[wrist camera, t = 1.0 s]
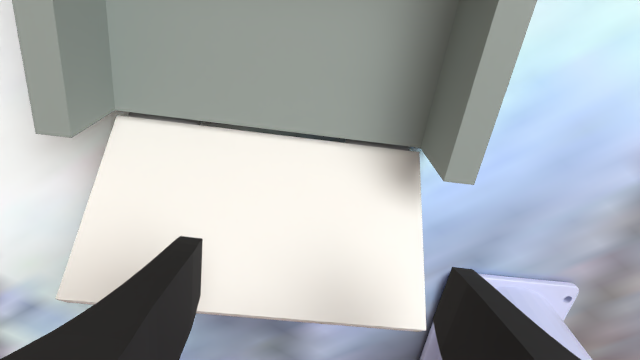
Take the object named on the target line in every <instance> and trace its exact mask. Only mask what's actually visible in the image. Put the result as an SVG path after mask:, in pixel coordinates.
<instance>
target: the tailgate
mask: <svg viewBox="0 0 640 360" xmlns="http://www.w3.org/2000/svg"><path fill="white" fill-rule="evenodd" d="M180 236H185V237H193V238H202V239H203V243H202V271H201V296H200V300H199V303H198V307H197V311H196V313H200V314H212V315H224V316H236V317H248V318H260V319H272V320H284V321H296V322H308V323H319V324H331V325H343V326H355V327H367V328H379V329H391V330H403V331H415V332H419V331H425V330H426V310H425V284H424V259H423V234H422V208H421V183H420V157H419V152H414V151H409V147H408V146H401V145H393V144H384V143H376V142H368V141H360V140H352V139H346V140H345V143H341V142H332V141H324V140H316V139H308V138H300V137H292V136H284V135H275V134H267V133H259V132H251V131H243V130H235V129H226V128H218V127H210V126H202V125H200V121H198V120H190V119H182V118H174V117H166V116H158V115H150V114H142V113H134V112H130V114H129V116H120V115H117V116H116V119H115V122H114V125H113V128H112V131H111V134H110V137H109V140H108V143H107V146H106V149H105V152H104V155H103V158H102V161H101V164H100V167H99V170H98V173H97V176H96V179H95V182H94V185H93V188H92V191H91V194H90V197H89V200H88V203H87V206H86V209H85V212H84V215H83V218H82V221H81V224H80V227H79V230H78V233H77V236H76V239H75V242H74V245H73V248H72V251H71V254H70V257H69V260H68V263H67V266H66V269H65V272H64V275H63V278H62V281H61V284H60V287H59V290H58V293H57V296H56V299H57V300H61V301H65V302H69V303H81V304H93V305H94V304H96V303H97V302H99V301H100V300H101V299H103V298H104V297H106V296H107V295H108V294H110V293H111V292H112V291H114V290H115V289H116V288H118V287H119V286H121V285H122V284H123V283H124V282H126V281H127V280H128V279H130V278H131V277H132V276H133V275H134V274H136V273H137V272H138V271H139V270H141V269H142V268H143V267H144V266H146V265H147V264H148V263H149V262H150V261H151V260H153V259H154V258H155V257H156V256H157V255H158V254H160V253H161V252H162V251H163V250H164V249H165V248H166V247H168V246H169V245H170V244H171V243H172V242H173V241H174V240H176V239H177V238H178V237H180Z"/></svg>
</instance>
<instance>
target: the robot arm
mask: <svg viewBox="0 0 640 360" xmlns="http://www.w3.org/2000/svg"><path fill="white" fill-rule="evenodd" d="M202 243H203V239H202V238H193V237H185V236H180V237H178V238H177V239H176V240H174V241H173V242H172V243H171V244H170V245H169V246H168V247H166V248H165V249H164V250H163V251H162V252H161V253H160V254H158V255H157V256H156V257H155V258H154V259H153V260H151V261H150V262H149V263H148V264H147V265H146V266H144V267H143V268H142V269H141V270H139V271H138V272H137V273H136V274H134V275H133V276H132V277H131V278H130V279H128V280H127V281H126V282H124V283H123V284H122V285H121V286H119V287H118V288H116V289H115V290H114V291H112V292H111V293H110V294H108V295H107V296H106V297H104V298H103V299H101V300H100V301H99V302H97V303H96V304H94V305H93V306H92V307H90V308H89V309H87V310H86V311H84V312H83V313H81V314H80V315H78V316H77V317H75V318H73V319H72V320H70V321H69V322H67V323H65V324H64V325H62V326H60V327H59V328H57V329H55V330H54V331H52V332H50V333H48V334H47V335H45V336H43V337H41V338H39V339H37V340H35V341H34V342H32V343H30V344H28V345H26V346H24V347H22V348H21V349H19V350H17V351H15V352H13V353H11V354H9V355H8V356H6V357H4V358H2V359H0V360H179V358H180V356H181V353H182V351H183V348H184V346H185V344H186V341H187V339H188V336H189V334H190V331H191V328H192V325H193V321H194V318H195V314H196V311H197V307H198V303H199V300H200V296H201V271H202ZM578 293H579V289H578V288H577V286H576V285H575V284H573V283H568V282H558V281H547V280H537V279H527V278H517V277H506V276H496V275H486V274H478V273H476V272H475V271H474V270H472V269H464V268H455V267H452V269H451V272H450V275H449V277H448V280H447V283H446V285H445V288H444V291H443V293H442V296H441V299H440V302H439V304H438V307H437V310H436V312H435V315H434V318H433V323H432V326H431V329H430V332H429V335H428V338H427V341H426V343H425V346H424V349H423V352H422V355H421V358H420V360H592V359H591V357H590V356H589V355H588V353H587V352H586V351H585V349H584V348H583V347H582V345H581V344H580V343H579V341H578V340H577V339H576V338H575V336H574V335H573V334H572V332H571V331H570V330H569V328H568V327H567V326H566V324H565V323H564V322H563V321H564V319H565V317H566V315H567V313H568V312H569V310H570V308H571V306H572V304H573V302H574V300H575V299H576V297H577V295H578ZM565 297H566V298H565Z"/></svg>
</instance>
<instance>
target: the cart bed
mask: <svg viewBox="0 0 640 360" xmlns="http://www.w3.org/2000/svg"><path fill="white" fill-rule="evenodd" d="M536 2H537V0H12V3H13V9H14V14H15V20H16V26H17V31H18V37H19V42H20V48H21V54H22V59H23V65H24V70H25V76H26V82H27V87H28V93H29V98H30V104H31V110H32V115H33V121H34V126H35V132H36V134H43V135H52V136H60V137H69V138H72V137H74V136H75V135H77V134H78V133H80V132H81V131H83V130H85V129H86V128H88V127H89V126H91V125H93V124H94V123H96V122H97V121H99V120H100V119H102V118H104V117H105V116H107V115H108V114H110V113H111V112H113V111H115V110H117V111H125V112H134V113H142V114H150V115H158V116H166V117H174V118H182V119H190V120H198V121H206V122H214V123H223V124H231V125H239V126H247V127H255V128H263V129H271V130H279V131H287V132H295V133H303V134H312V135H320V136H328V137H336V138H344V139H352V140H360V141H368V142H376V143H384V144H393V145H401V146H409V147H417V148H421V149H422V151H423V152H424V154H425V155H426V157H427V158H428V159H429V161H430V162H431V164H432V165H433V167H434V168H435V170H436V171H437V172H438V174H439V175H440V177H441V178H442V180H443V181H445V182H454V183H462V184H471V185H474V183H475V180H476V177H477V174H478V171H479V169H480V166H481V163H482V160H483V157H484V154H485V151H486V148H487V145H488V142H489V139H490V136H491V133H492V131H493V128H494V125H495V122H496V119H497V116H498V113H499V110H500V107H501V104H502V101H503V98H504V95H505V93H506V90H507V87H508V84H509V81H510V78H511V75H512V72H513V69H514V66H515V63H516V60H517V57H518V55H519V52H520V49H521V46H522V43H523V40H524V37H525V34H526V31H527V28H528V25H529V22H530V20H531V17H532V14H533V11H534V8H535V5H536Z"/></svg>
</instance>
